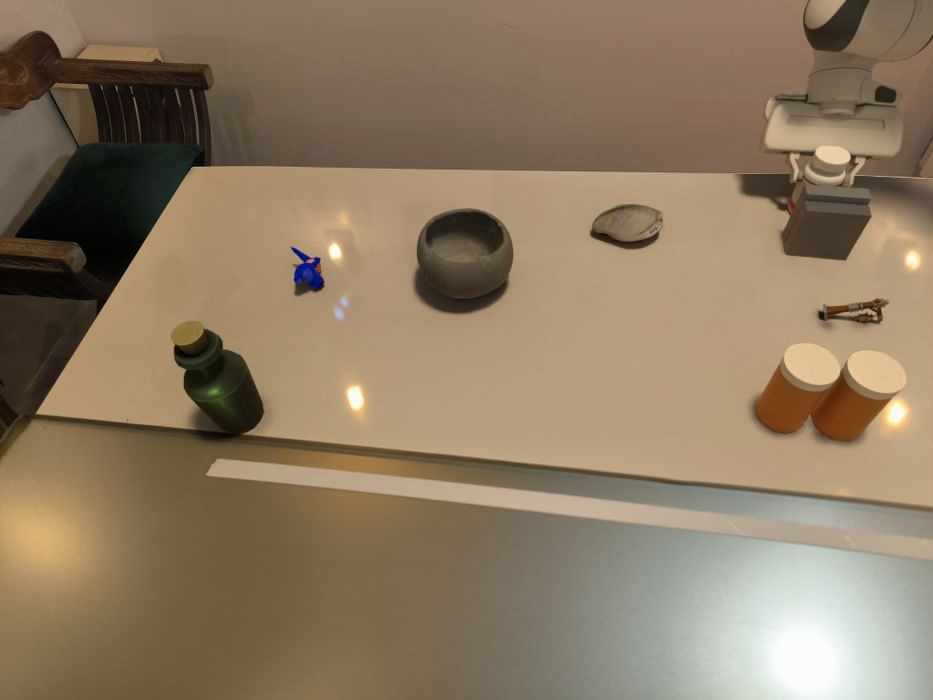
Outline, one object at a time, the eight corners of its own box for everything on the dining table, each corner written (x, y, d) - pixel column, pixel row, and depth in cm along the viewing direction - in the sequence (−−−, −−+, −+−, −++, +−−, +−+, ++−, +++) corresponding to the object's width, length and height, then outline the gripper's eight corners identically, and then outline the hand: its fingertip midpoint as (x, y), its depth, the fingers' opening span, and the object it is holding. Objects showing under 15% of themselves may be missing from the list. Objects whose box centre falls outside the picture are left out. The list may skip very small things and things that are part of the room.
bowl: (494, 239, 104) (492, 192, 96) (526, 299, 95) (528, 252, 87) (411, 262, 102) (403, 215, 94) (436, 325, 93) (429, 279, 85)
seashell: (597, 253, 101) (600, 230, 97) (586, 221, 106) (589, 198, 102) (668, 246, 101) (674, 223, 97) (654, 214, 106) (660, 191, 102)
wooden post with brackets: (890, 323, 87) (890, 302, 84) (826, 331, 91) (824, 311, 88) (888, 314, 88) (888, 293, 85) (824, 322, 92) (822, 302, 89)
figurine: (299, 297, 99) (290, 276, 95) (297, 266, 103) (289, 244, 100) (328, 291, 99) (320, 270, 95) (325, 261, 104) (317, 239, 100)
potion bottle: (252, 446, 82) (197, 366, 68) (200, 432, 84) (137, 352, 70) (280, 397, 87) (235, 313, 72) (231, 385, 88) (177, 301, 74)
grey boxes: (782, 233, 101) (804, 184, 93) (840, 238, 99) (868, 188, 92) (785, 254, 98) (809, 205, 90) (845, 260, 96) (875, 210, 89)
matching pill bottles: (752, 390, 83) (781, 339, 74) (858, 404, 80) (900, 353, 72) (756, 429, 79) (786, 380, 70) (867, 444, 77) (912, 396, 68)
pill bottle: (822, 201, 105) (850, 143, 97) (828, 224, 102) (858, 166, 93) (784, 198, 106) (809, 141, 98) (789, 221, 103) (815, 164, 94)
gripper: (773, 87, 96) (758, 176, 98) (915, 93, 92) (898, 186, 94) (761, 98, 102) (748, 182, 104) (895, 105, 99) (878, 191, 100)
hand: (820, 184), depth 99 cm, fingers closed on pill bottle, 6 cm apart
